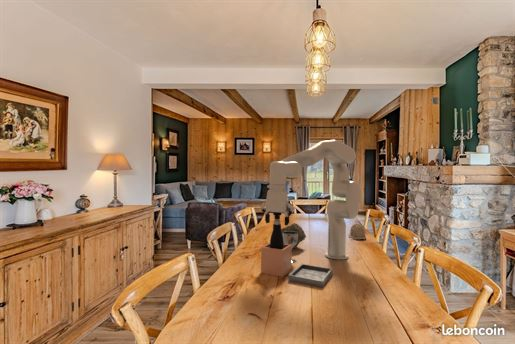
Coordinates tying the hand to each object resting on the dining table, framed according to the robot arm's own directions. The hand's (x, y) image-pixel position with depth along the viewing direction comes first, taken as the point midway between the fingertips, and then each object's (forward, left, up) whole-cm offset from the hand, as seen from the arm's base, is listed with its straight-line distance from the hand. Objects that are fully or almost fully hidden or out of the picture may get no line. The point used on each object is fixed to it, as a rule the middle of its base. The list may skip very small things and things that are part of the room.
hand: (277, 223), depth 144 cm
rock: (-40, -10, -23) cm, 47 cm away
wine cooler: (0, 0, -22) cm, 23 cm away
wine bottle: (0, 0, -23) cm, 23 cm away
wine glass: (-18, 0, -23) cm, 29 cm away
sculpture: (-93, +23, -23) cm, 99 cm away
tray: (0, +17, -22) cm, 28 cm away
